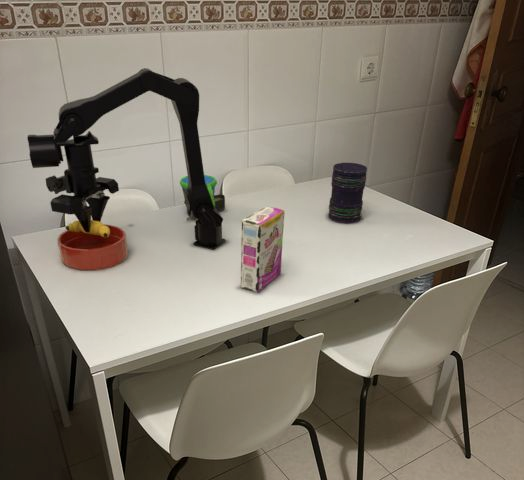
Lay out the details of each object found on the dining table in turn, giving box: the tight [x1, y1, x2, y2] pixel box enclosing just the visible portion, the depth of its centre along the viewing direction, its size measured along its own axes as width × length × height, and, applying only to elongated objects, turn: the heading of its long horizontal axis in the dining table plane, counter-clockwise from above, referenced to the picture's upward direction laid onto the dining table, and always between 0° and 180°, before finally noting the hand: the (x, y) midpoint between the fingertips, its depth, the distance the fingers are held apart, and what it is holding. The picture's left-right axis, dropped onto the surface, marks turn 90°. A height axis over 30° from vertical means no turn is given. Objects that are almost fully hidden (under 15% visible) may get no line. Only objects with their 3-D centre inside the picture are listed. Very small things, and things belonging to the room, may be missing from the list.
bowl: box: [57, 223, 129, 272], centre depth 131 cm, size 16×16×6 cm
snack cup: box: [179, 174, 218, 207], centre depth 156 cm, size 16×10×10 cm
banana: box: [65, 219, 110, 238], centre depth 128 cm, size 12×4×3 cm, turn 69°
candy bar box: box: [240, 205, 285, 293], centre depth 119 cm, size 11×5×16 cm, turn 150°
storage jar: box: [328, 162, 368, 225], centre depth 155 cm, size 10×10×15 cm
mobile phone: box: [186, 193, 226, 221], centre depth 157 cm, size 5×3×15 cm
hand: (92, 229), depth 129 cm, fingers closed on banana, 3 cm apart
